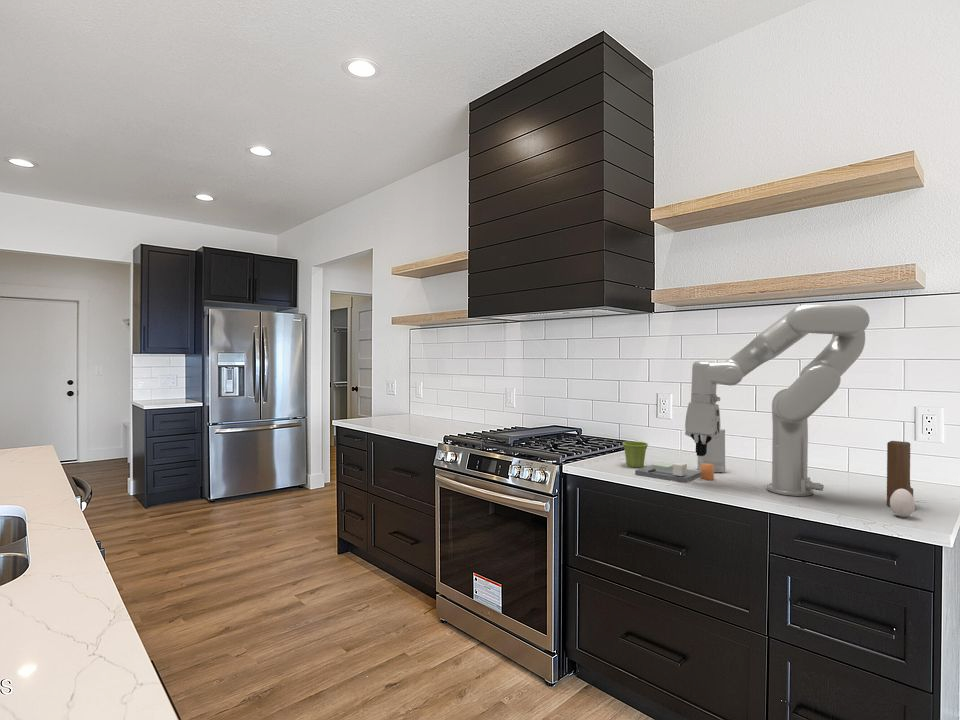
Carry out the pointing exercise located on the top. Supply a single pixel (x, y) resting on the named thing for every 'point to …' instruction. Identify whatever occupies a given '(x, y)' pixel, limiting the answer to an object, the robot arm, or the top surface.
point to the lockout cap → (707, 471)
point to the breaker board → (667, 474)
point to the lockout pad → (662, 466)
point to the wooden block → (898, 468)
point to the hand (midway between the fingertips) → (700, 455)
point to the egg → (902, 503)
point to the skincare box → (715, 453)
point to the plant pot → (635, 453)
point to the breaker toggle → (679, 469)
